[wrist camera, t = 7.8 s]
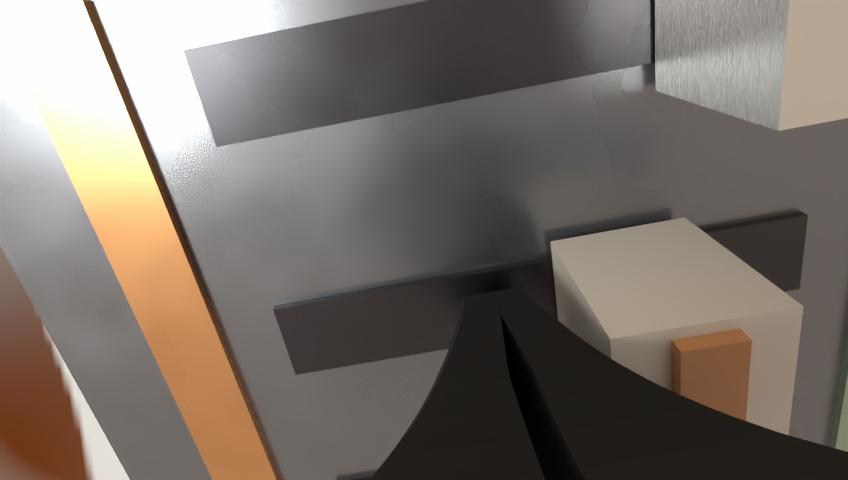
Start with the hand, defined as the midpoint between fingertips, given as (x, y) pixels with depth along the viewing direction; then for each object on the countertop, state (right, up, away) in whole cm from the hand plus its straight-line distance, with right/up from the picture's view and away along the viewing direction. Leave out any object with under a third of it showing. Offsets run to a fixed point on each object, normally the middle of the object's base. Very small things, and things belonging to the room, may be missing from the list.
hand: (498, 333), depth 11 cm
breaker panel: (+1, +1, +2) cm, 3 cm away
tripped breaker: (+3, +1, +1) cm, 3 cm away
